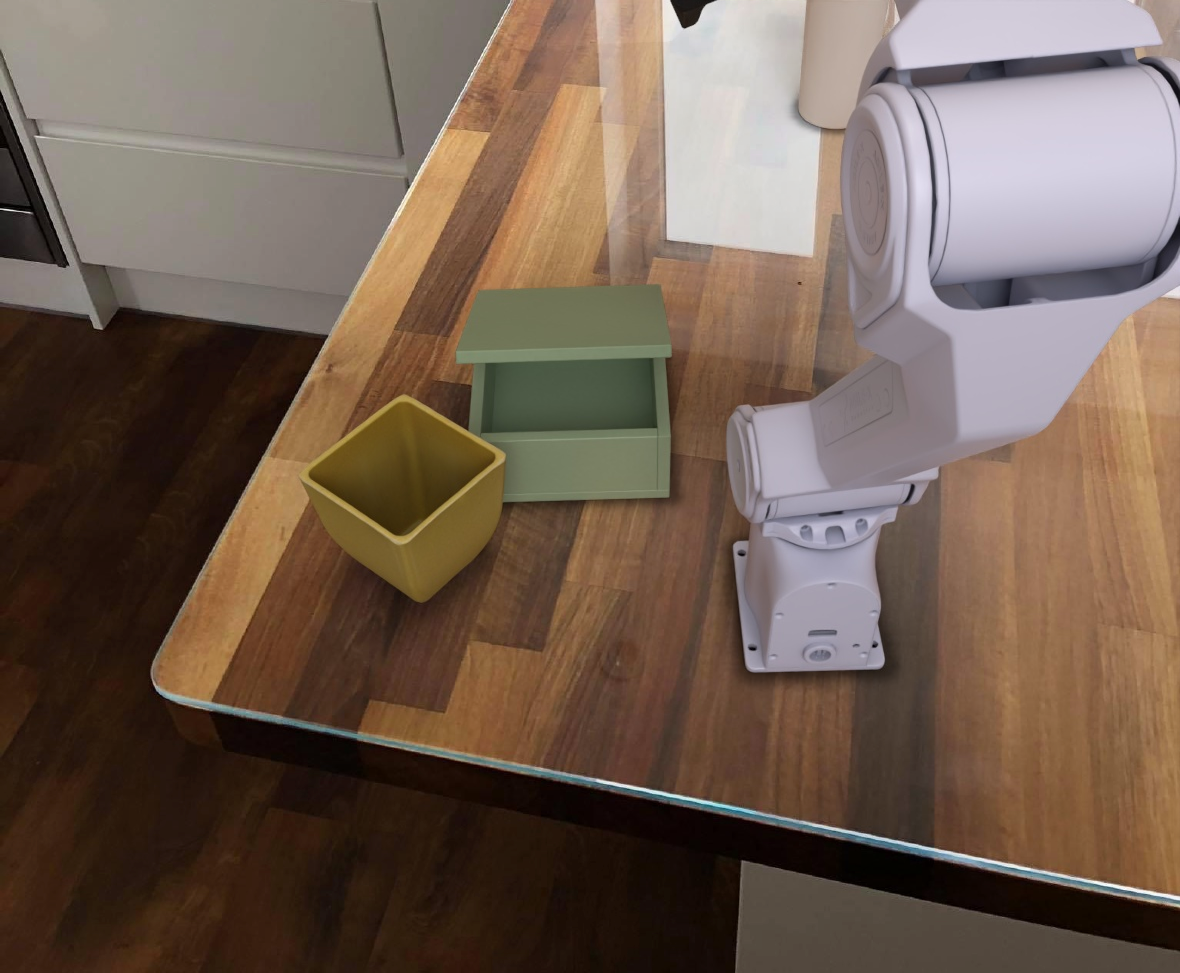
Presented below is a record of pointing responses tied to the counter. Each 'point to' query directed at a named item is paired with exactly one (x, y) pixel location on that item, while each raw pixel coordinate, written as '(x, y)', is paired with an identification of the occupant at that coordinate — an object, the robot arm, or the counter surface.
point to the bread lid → (566, 325)
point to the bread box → (576, 427)
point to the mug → (837, 57)
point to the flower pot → (409, 495)
